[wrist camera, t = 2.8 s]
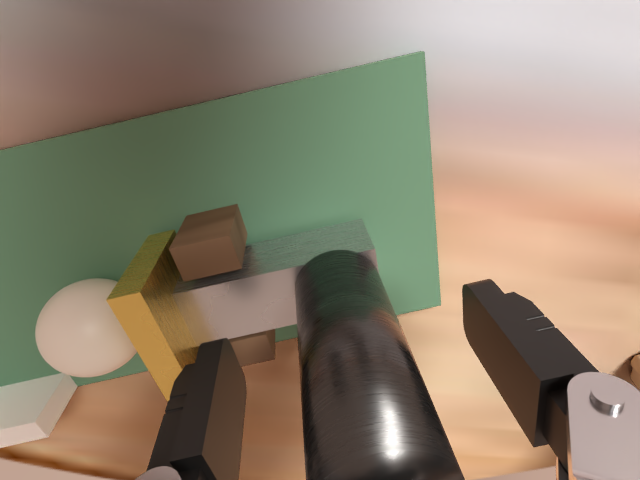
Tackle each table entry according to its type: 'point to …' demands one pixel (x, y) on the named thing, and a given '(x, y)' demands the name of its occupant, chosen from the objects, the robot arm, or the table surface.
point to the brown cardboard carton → (219, 266)
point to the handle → (636, 371)
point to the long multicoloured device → (301, 345)
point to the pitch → (222, 190)
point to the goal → (33, 408)
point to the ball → (82, 331)
